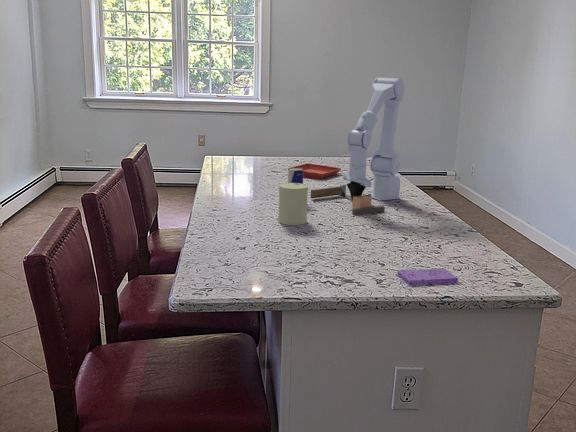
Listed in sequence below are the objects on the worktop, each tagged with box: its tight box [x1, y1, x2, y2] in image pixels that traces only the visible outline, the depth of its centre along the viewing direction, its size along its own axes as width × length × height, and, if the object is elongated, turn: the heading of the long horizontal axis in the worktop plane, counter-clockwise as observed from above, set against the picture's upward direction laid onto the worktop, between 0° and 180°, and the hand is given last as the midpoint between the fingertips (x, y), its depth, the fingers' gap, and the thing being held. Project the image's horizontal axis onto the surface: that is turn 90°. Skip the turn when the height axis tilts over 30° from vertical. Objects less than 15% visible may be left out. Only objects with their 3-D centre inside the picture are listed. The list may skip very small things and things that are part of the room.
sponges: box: [396, 268, 459, 286], centre depth 144 cm, size 7×13×2 cm, turn 103°
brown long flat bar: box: [310, 185, 340, 199], centre depth 224 cm, size 1×13×3 cm, turn 125°
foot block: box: [351, 194, 372, 210], centre depth 208 cm, size 4×4×4 cm
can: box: [277, 182, 309, 226], centre depth 190 cm, size 9×9×12 cm
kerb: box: [352, 205, 386, 216], centre depth 204 cm, size 12×2×2 cm, turn 117°
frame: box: [338, 184, 373, 202], centre depth 222 cm, size 4×19×4 cm, turn 27°
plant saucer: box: [287, 162, 342, 180], centre depth 269 cm, size 18×18×3 cm
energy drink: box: [287, 167, 304, 184], centre depth 216 cm, size 5×5×12 cm
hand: (355, 203), depth 211 cm, fingers closed
